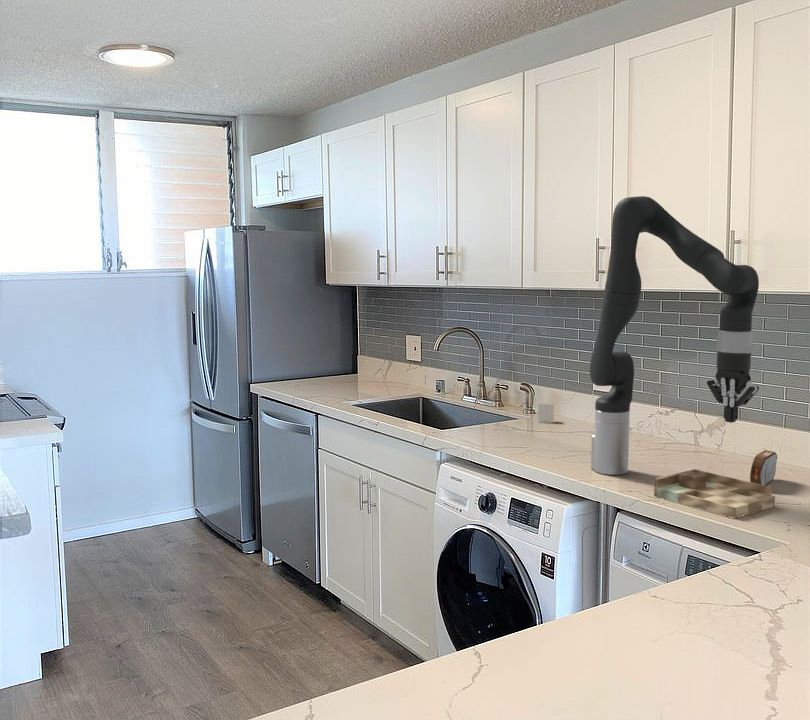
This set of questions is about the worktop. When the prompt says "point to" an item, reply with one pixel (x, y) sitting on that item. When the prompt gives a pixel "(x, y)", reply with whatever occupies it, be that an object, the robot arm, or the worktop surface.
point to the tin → (763, 468)
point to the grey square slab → (545, 413)
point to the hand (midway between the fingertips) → (730, 421)
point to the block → (692, 480)
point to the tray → (717, 494)
